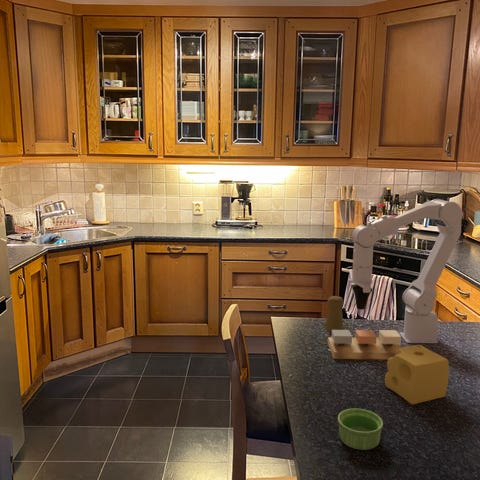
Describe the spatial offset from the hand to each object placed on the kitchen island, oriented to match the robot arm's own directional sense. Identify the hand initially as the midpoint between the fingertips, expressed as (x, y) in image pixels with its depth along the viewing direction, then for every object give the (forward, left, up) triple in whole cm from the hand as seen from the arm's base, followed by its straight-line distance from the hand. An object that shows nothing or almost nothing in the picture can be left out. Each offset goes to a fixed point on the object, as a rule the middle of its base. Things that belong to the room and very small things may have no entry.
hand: (360, 308), depth 148 cm
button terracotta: (0, +8, -7) cm, 11 cm away
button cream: (-7, +8, -7) cm, 13 cm away
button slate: (+7, +8, -7) cm, 13 cm away
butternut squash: (+6, -10, -11) cm, 16 cm away
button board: (0, +8, -10) cm, 13 cm away
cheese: (-7, +32, -11) cm, 34 cm away
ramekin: (+11, +52, -11) cm, 54 cm away
